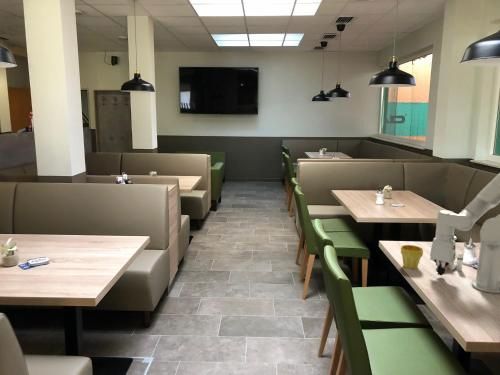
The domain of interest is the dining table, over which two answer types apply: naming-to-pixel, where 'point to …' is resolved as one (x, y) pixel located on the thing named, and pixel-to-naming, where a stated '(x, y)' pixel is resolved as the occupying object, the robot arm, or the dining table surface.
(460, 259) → the rear right pin
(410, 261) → the plant pot
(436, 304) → the dining table surface
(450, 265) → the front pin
